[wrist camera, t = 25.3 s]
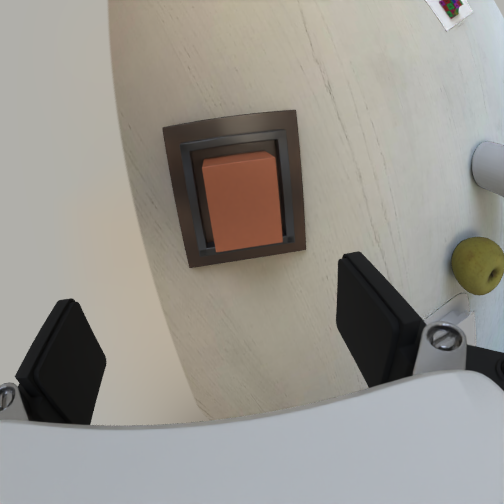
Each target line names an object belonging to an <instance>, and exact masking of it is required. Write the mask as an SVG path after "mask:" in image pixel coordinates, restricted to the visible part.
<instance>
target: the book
mask: <svg viewBox="0 0 504 504" xmlns="http://www.w3.org/2000/svg"><path fill="white" fill-rule="evenodd" d="M423 321H424V322H425V323H426V324H427V325H428V324H430V323H432V322H436V321H446V322H450V323H453V324H455V325H456V326H458V327H459V328H461V329H462V330H463V332H464V333H465V335H466V339H467V344H468V345H472V346H476V327H475V311H473V312H472V313H470V308H469V298H468V296H467V294H466V293H460V294H459V295H457V296H455V297H453V298H452V299H451V300H450V301H448V302H447V303H446V304H445V305H443V306H442V307H441V308H439V309H438V310H437V311H435V312H434V313H433V314H431V315H430V316H429V317H427V318H426V319H425V320H423Z"/></svg>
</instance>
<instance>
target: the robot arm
mask: <svg viewBox="0 0 504 504" xmlns="http://www.w3.org/2000/svg"><path fill="white" fill-rule="evenodd" d="M336 324H337V328H338V330H339V332H340V334H341V336H342V338H343V339H344V341H345V343H346V345H347V347H348V349H349V351H350V352H351V354H352V356H353V358H354V360H355V362H356V364H357V366H358V367H359V369H360V371H361V373H362V375H363V377H364V379H365V381H366V383H367V385H368V386H369V388H367V389H364V390H360V391H357V392H353V393H350V394H346V395H342V396H338V397H334V398H330V399H326V400H322V401H318V402H314V403H310V404H305V405H301V406H296V407H291V408H287V409H282V410H276V411H271V412H265V413H260V414H254V415H247V416H241V417H234V418H226V419H218V420H210V421H200V422H191V423H177V424H162V425H132V426H104V425H101V426H100V425H90V423H91V419H92V415H93V411H94V407H95V403H96V399H97V395H98V392H99V388H100V384H101V381H102V377H103V374H104V370H105V367H106V358H105V355H104V353H103V351H102V349H101V347H100V345H99V343H98V341H97V339H96V337H95V336H94V333H93V332H92V329H91V328H90V325H89V323H88V321H87V319H86V317H85V315H84V313H83V311H82V309H81V306H80V304H79V303H78V302H75V300H74V299H64V300H59V301H58V302H57V303H56V305H55V306H54V308H53V310H52V311H51V313H50V315H49V316H48V318H47V319H46V321H45V323H44V324H43V326H42V328H41V329H40V331H39V333H38V335H37V336H36V338H35V340H34V342H33V343H32V345H31V347H30V349H29V351H28V353H27V354H26V356H25V358H24V360H23V362H22V364H21V366H20V368H19V370H18V371H17V373H16V376H15V377H16V379H17V380H18V382H19V383H20V384H19V386H18V387H17V386H16V385H15V384H14V383H4V384H2V385H0V504H504V353H502V352H497V351H493V350H489V349H485V348H480V347H476V346H472V345H468V344H467V339H466V335H465V333H464V332H463V330H462V329H461V328H459V327H458V326H456V325H455V324H453V323H450V322H446V321H436V322H432V323H430V324H428V325H427V324H426V323H425V322H424V321H423V320H422V318H421V317H420V316H419V315H418V314H417V313H416V312H415V310H414V309H413V308H412V307H411V306H410V305H409V304H408V303H407V301H406V300H405V299H404V298H403V297H402V296H401V295H400V294H399V293H398V291H397V290H396V289H395V288H394V287H393V286H392V285H391V284H390V283H389V282H388V281H387V280H386V278H385V277H384V276H383V275H382V274H381V273H380V272H379V271H378V270H377V269H376V268H375V267H374V266H373V265H372V264H371V262H370V261H369V260H368V259H367V258H366V257H365V256H364V255H363V254H362V253H361V252H353V253H348V254H344V255H343V257H342V259H339V261H338V288H337V313H336Z"/></svg>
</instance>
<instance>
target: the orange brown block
mask: <svg viewBox="0 0 504 504" xmlns="http://www.w3.org/2000/svg"><path fill="white" fill-rule="evenodd" d="M202 171H203V178H204V184H205V190H206V196H207V202H208V208H209V214H210V220H211V226H212V232H213V237H214V243H215V249H216V252H223V251H229V250H235V249H242V248H248V247H255V246H261V245H268V244H274V243H281V242H283V236H282V224H281V213H280V201H279V190H278V180H277V169H276V159H275V157H274V156H272V155H271V154H269V153H268V152H266V151H255V152H247V153H240V154H233V155H226V156H219V157H212V158H206V159H204V161H203V166H202Z"/></svg>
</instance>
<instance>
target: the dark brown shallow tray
mask: <svg viewBox="0 0 504 504" xmlns="http://www.w3.org/2000/svg"><path fill="white" fill-rule="evenodd" d="M163 135H164V141H165V147H166V153H167V159H168V165H169V170H170V176H171V181H172V187H173V192H174V197H175V202H176V207H177V212H178V217H179V222H180V227H181V232H182V236H183V241H184V246H185V250H186V255H187V259H188V264H189V268H193V267H200V266H206V265H213V264H219V263H225V262H232V261H238V260H245V259H251V258H257V257H264V256H270V255H276V254H282V253H289V252H295V251H301V250H306V236H305V217H304V201H303V186H302V172H301V159H300V147H299V136H298V126H297V116H296V110H286V111H274V112H263V113H253V114H244V115H236V116H228V117H221V118H214V119H208V120H201V121H195V122H189V123H184V124H178V125H173V126H168V127H163ZM255 151H266V152H268V153H269V154H271V155H272V156H274V157H275V159H276V169H277V180H278V190H279V201H280V213H281V224H282V236H283V242H281V243H274V244H268V245H261V246H255V247H248V248H242V249H235V250H229V251H223V252H216V249H215V243H214V237H213V232H212V226H211V220H210V214H209V208H208V202H207V196H206V190H205V184H204V178H203V171H202V166H203V161H204V159H206V158H212V157H219V156H226V155H233V154H240V153H247V152H255Z"/></svg>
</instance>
